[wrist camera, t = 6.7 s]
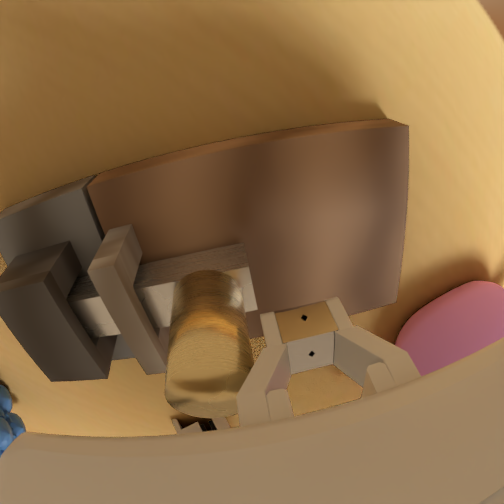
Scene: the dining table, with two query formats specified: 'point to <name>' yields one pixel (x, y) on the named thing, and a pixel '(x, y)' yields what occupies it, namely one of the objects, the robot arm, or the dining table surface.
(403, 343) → the teapot
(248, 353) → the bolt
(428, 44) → the dining table surface
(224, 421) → the light grey rounded piece
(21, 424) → the grapes
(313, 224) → the door board
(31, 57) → the dining table surface
